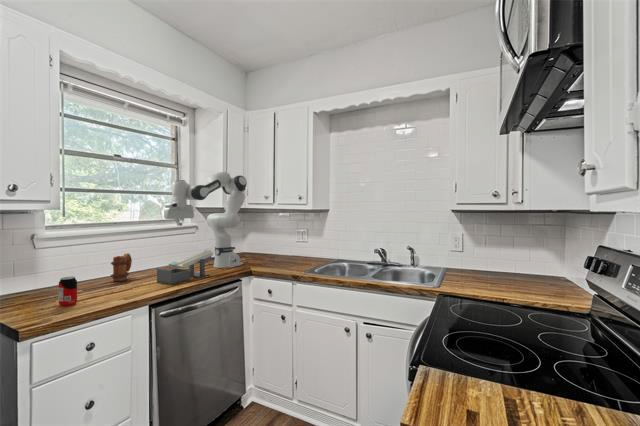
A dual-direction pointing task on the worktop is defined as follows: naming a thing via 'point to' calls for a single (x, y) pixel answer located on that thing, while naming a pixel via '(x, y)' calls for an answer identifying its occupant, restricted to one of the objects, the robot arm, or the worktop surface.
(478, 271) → the worktop surface
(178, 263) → the lever
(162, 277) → the grey open box
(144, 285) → the worktop surface
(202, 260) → the stand
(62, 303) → the beverage can
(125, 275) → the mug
